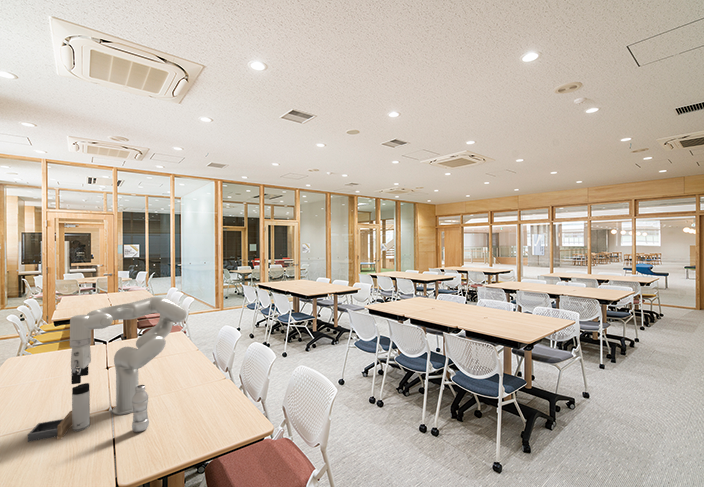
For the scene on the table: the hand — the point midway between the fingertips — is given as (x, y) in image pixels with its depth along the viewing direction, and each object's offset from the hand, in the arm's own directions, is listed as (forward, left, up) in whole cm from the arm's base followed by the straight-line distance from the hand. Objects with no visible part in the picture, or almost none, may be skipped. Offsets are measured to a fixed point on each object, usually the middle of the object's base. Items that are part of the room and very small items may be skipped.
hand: (80, 379), depth 151 cm
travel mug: (0, 0, -23) cm, 23 cm away
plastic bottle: (-26, +13, -23) cm, 37 cm away
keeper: (+12, -1, -23) cm, 25 cm away
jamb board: (+5, 0, -23) cm, 23 cm away
